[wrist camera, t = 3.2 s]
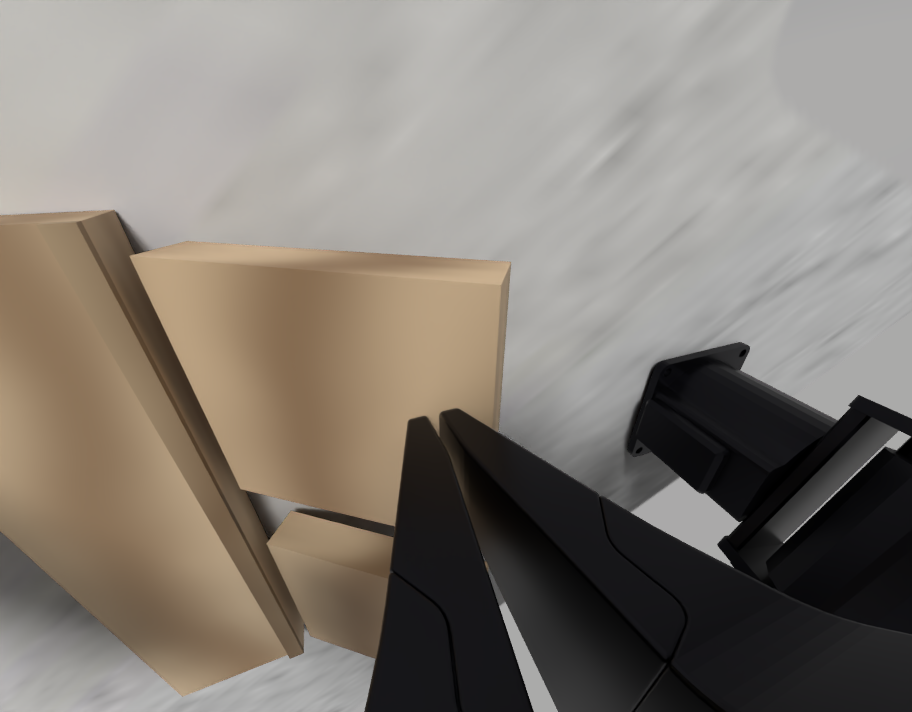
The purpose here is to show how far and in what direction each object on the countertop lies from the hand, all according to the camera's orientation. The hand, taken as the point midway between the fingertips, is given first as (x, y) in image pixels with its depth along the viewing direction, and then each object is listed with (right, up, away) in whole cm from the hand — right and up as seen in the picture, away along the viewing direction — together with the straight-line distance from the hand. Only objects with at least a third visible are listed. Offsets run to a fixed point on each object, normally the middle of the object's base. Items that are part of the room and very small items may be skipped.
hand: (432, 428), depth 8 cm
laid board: (-10, -4, +5) cm, 11 cm away
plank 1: (-2, +1, +2) cm, 3 cm away
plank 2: (-2, -8, +8) cm, 11 cm away
